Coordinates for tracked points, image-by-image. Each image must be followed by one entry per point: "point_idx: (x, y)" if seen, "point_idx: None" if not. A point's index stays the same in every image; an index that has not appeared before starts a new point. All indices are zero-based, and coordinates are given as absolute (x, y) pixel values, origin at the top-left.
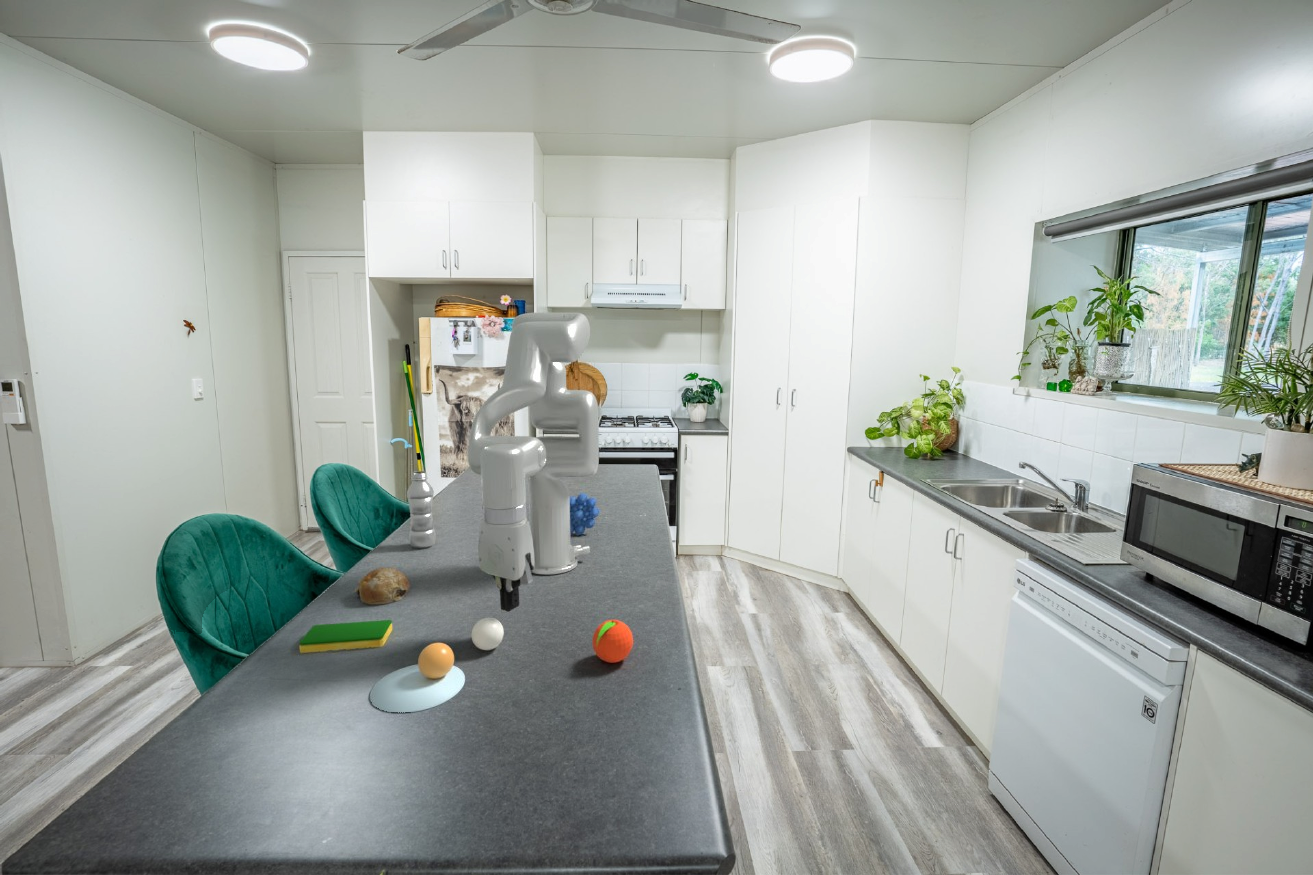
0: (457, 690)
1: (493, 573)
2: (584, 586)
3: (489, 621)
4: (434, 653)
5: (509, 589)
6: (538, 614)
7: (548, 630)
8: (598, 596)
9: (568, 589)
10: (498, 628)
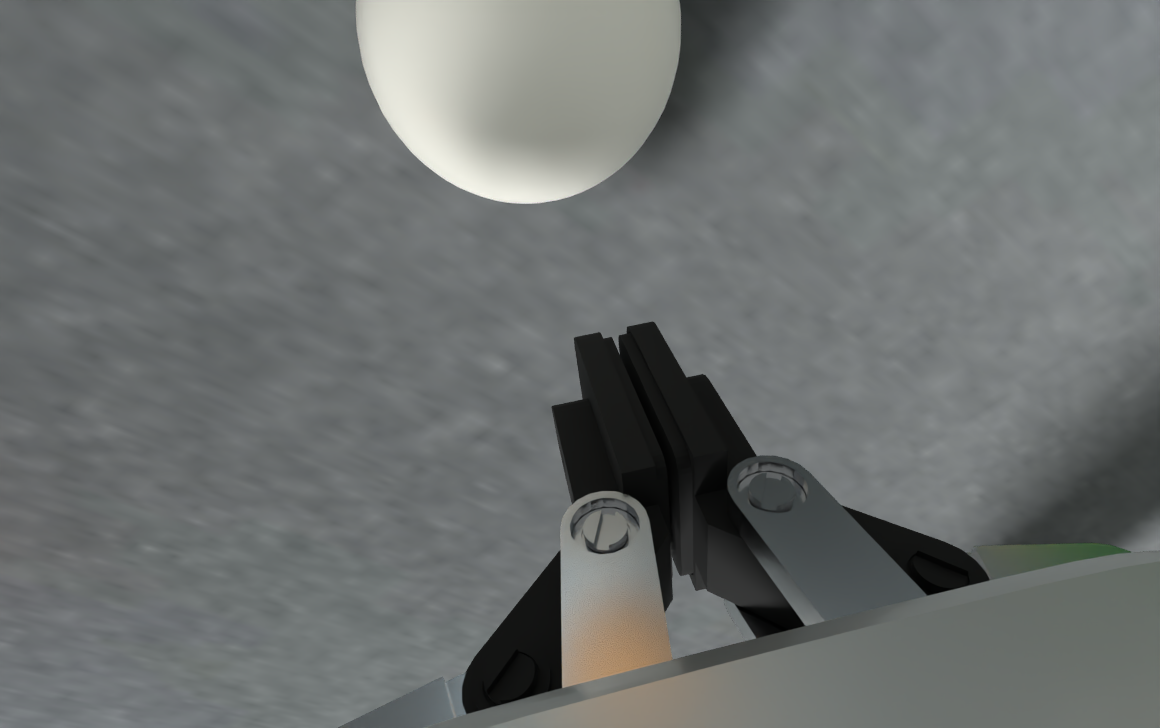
0: None
1: (911, 639)
2: None
3: (483, 60)
4: None
5: (588, 525)
6: None
7: (426, 434)
8: None
9: (700, 639)
10: (396, 107)
